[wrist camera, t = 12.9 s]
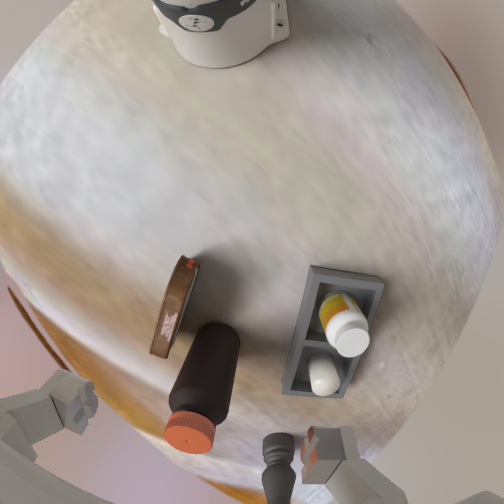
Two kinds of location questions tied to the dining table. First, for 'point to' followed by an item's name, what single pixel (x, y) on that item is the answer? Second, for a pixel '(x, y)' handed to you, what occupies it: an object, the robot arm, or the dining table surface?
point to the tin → (174, 306)
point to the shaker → (323, 374)
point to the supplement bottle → (344, 324)
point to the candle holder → (278, 468)
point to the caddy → (312, 333)
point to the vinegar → (203, 389)
